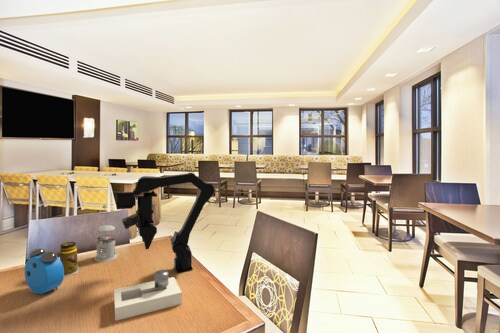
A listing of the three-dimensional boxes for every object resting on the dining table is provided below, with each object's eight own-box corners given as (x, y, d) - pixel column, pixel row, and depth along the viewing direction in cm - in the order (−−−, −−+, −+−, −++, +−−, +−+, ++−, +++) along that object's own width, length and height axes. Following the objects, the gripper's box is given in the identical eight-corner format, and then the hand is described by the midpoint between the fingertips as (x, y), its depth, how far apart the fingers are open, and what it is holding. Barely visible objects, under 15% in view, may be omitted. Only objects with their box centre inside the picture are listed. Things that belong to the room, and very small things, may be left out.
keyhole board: (174, 287, 101) (174, 276, 101) (181, 303, 91) (181, 292, 90) (114, 300, 92) (114, 289, 92) (115, 320, 81) (114, 308, 81)
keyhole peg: (167, 293, 96) (166, 268, 96) (169, 299, 92) (169, 274, 92) (153, 296, 94) (153, 271, 94) (155, 303, 90) (155, 277, 89)
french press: (101, 263, 120) (100, 208, 118) (87, 257, 126) (86, 205, 125) (122, 256, 129) (121, 204, 127) (108, 251, 135) (107, 201, 133)
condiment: (78, 273, 111) (78, 244, 111) (53, 278, 107) (52, 248, 106) (78, 266, 117) (77, 239, 117) (54, 271, 113) (53, 242, 112)
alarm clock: (65, 290, 98) (63, 250, 97) (46, 299, 92) (45, 256, 91) (42, 283, 103) (41, 244, 102) (24, 290, 97) (22, 250, 96)
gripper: (121, 204, 114) (122, 241, 115) (124, 215, 97) (125, 257, 99) (149, 202, 119) (150, 237, 120) (156, 211, 103) (157, 252, 104)
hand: (145, 245), depth 111 cm, fingers open, 9 cm apart
